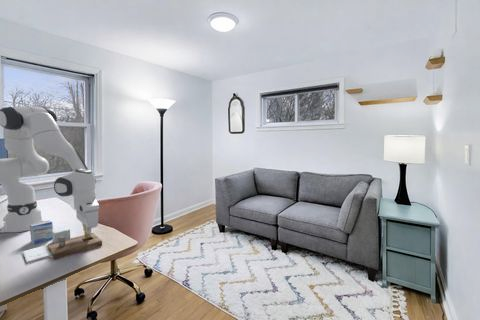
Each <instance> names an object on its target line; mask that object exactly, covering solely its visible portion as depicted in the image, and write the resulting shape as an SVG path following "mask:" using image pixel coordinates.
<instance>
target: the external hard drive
mask: <svg viewBox="0 0 480 320" xmlns="http://www.w3.org/2000/svg"><path fill="white" fill-rule="evenodd" d="M22 255H23V257H25V258H24V259H25V262H27V263H28V264H31V263H33V262H34V261H35V262H38V261H40V259H41V260H44V258H45V259H47V258H51V256H52V254H51V252H50V250H49V249H48V245H46V244H45V245H41V246H38V247H33V248H30V249H26V250H23V251H22ZM52 257H53V256H52ZM37 260H38V261H37ZM27 263H26V264H27Z"/></svg>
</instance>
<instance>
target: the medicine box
mask: <svg viewBox="0 0 480 320" xmlns="http://www.w3.org/2000/svg"><path fill="white" fill-rule="evenodd" d="M53 226H54V225H53V221H52V220H44V222H40V223H35V224H31V225H30V230H29V232H30V233H29V234H30V242H31V243H32V244H34V245H35V244H39V243H42V242H46V241H49V240H52V230H53V229H54V227H53Z"/></svg>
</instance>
